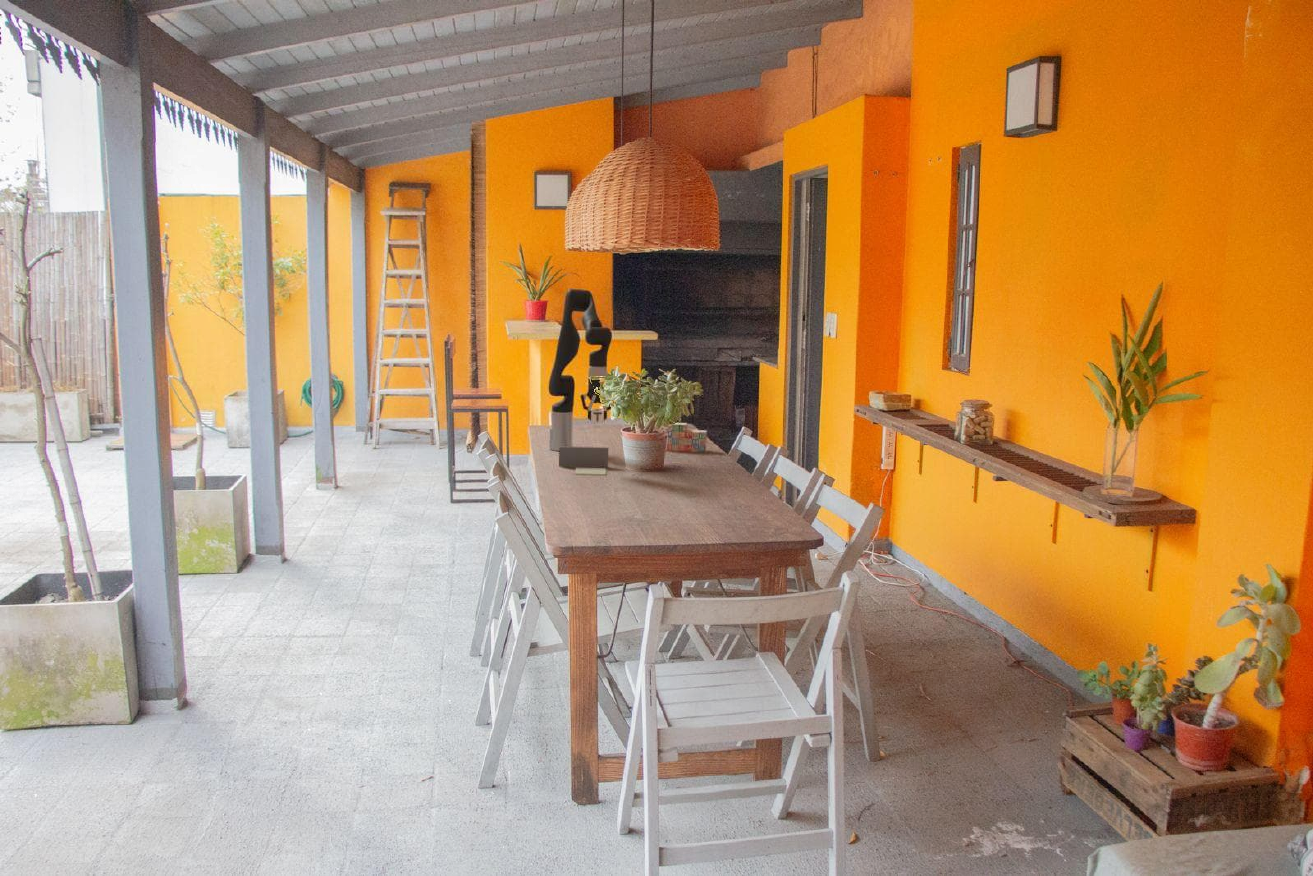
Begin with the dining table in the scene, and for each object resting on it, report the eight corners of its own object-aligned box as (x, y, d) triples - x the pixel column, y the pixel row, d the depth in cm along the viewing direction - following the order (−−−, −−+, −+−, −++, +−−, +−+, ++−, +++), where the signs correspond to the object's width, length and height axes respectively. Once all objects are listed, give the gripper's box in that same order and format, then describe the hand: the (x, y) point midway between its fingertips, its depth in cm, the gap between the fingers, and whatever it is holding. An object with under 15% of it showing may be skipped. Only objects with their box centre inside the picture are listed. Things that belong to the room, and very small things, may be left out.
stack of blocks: (706, 450, 462) (707, 423, 460) (705, 452, 456) (706, 425, 454) (659, 447, 465) (660, 421, 463) (658, 450, 458) (659, 423, 456)
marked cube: (591, 423, 401) (591, 410, 401) (590, 421, 406) (591, 408, 406) (603, 423, 402) (603, 410, 401) (603, 421, 407) (603, 409, 406)
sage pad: (575, 474, 397) (575, 473, 397) (575, 468, 408) (575, 467, 408) (605, 475, 397) (605, 473, 397) (605, 469, 409) (605, 468, 409)
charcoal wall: (558, 466, 412) (559, 447, 411) (558, 465, 414) (559, 446, 413) (607, 467, 413) (608, 448, 412) (607, 466, 415) (608, 447, 414)
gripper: (615, 377, 406) (614, 419, 408) (579, 376, 405) (579, 418, 407) (616, 378, 398) (615, 421, 401) (579, 378, 397) (579, 421, 400)
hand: (597, 420), depth 404 cm, fingers closed on marked cube, 5 cm apart
